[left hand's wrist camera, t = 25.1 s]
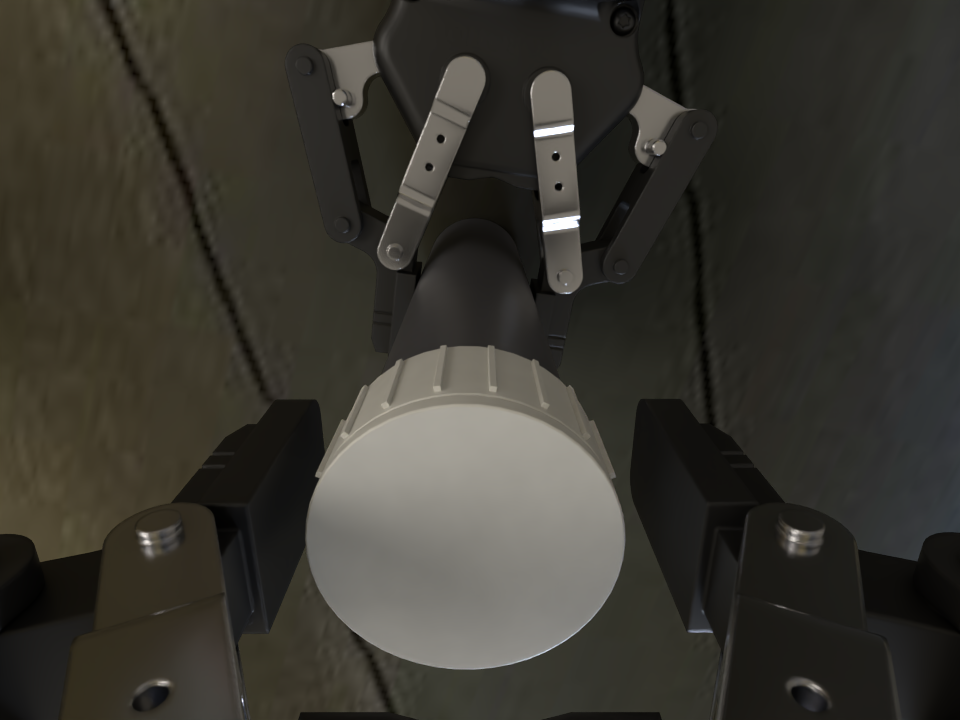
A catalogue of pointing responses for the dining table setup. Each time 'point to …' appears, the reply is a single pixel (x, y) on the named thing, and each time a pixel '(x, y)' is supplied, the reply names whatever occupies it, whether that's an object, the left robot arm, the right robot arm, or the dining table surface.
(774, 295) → the dining table surface
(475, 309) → the bottle
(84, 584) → the left robot arm
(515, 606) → the lid
